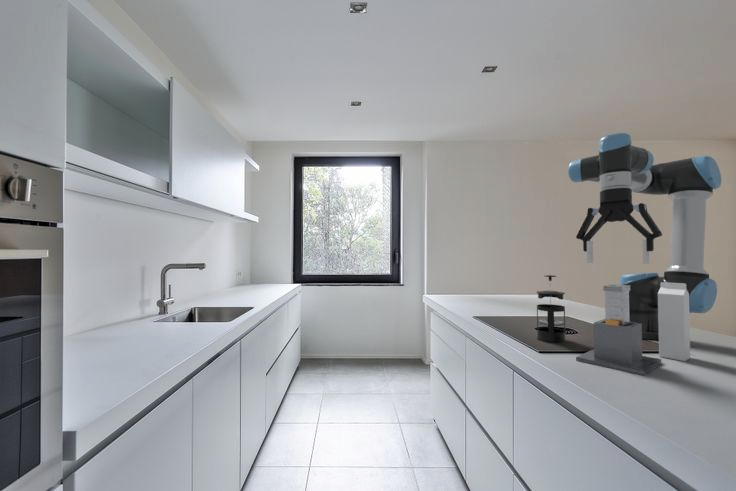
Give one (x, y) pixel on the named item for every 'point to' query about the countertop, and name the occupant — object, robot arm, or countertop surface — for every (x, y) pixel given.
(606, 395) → the countertop surface
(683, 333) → the milk
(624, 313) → the column
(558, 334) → the french press
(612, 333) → the base
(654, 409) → the countertop surface
